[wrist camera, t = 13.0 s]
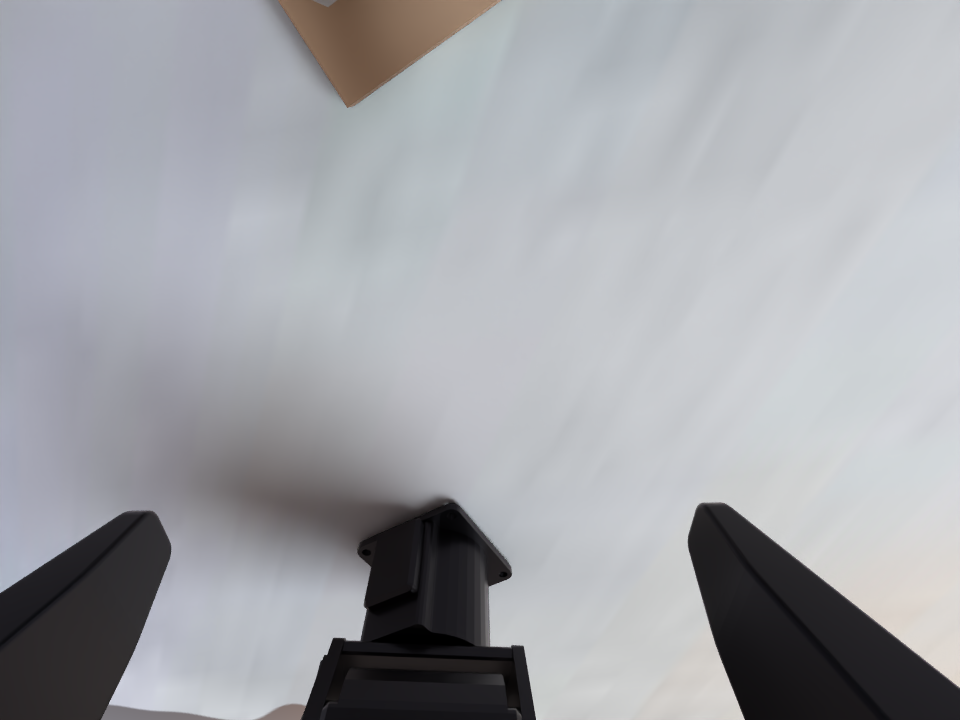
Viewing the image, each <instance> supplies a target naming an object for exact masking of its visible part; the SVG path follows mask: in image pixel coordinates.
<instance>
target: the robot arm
mask: <svg viewBox="0 0 960 720" xmlns="http://www.w3.org/2000/svg"><path fill="white" fill-rule="evenodd" d="M451 512H452V513H453V514H451ZM688 548H689V553H690V556H691V560H692V563H693V567H694V571H695V574H696V578H697V581H698V585H699V589H700V592H701V596H702V599H703V603H704V606H705V610H706V614H707V617H708V621H709V624H710V628H711V631H712V634H713V638H714V641H715V644H716V647H717V649H718V652H719V655H720V658H721V660H722V663H723V665H724V668H725V671H726V673H727V676H728V678H729V681H730V683H731V686H732V688H733V691H734V693H735V696H736V699H737V701H738V704H739V706H740V709H741V711H742V714H743V716H744V719H745V720H960V688H959V687H958V686H957V685H956V684H954V683H953V682H952V681H951V680H949V679H948V678H947V677H945V676H944V675H943V674H942V673H940V672H939V671H938V670H937V669H935V668H934V667H933V666H932V665H930V664H929V663H928V662H926V661H925V660H924V659H923V658H921V657H920V656H919V655H918V654H916V653H915V652H914V651H913V650H911V649H910V648H909V647H907V646H906V645H905V644H904V643H902V642H901V641H900V640H899V639H897V638H896V637H895V636H894V635H892V634H891V633H890V632H888V631H887V630H886V629H885V628H883V627H882V626H881V625H880V624H878V623H877V622H876V621H875V620H873V619H872V618H871V617H869V616H868V615H867V614H866V613H864V612H863V611H862V610H861V609H859V608H858V607H857V606H856V605H854V604H853V603H852V602H850V601H849V600H848V599H847V598H845V597H844V596H843V595H842V594H840V593H839V592H838V591H837V590H835V589H834V588H833V587H831V586H830V585H829V584H828V583H826V582H825V581H824V580H823V579H821V578H820V577H819V576H818V575H816V574H815V573H814V572H812V571H811V570H810V569H809V568H807V567H806V566H805V565H804V564H802V563H801V562H800V561H799V560H797V559H796V558H795V557H793V556H792V555H791V554H790V553H788V552H787V551H786V550H785V549H783V548H782V547H781V546H780V545H778V544H777V543H776V542H774V541H773V540H772V539H771V538H769V537H768V536H767V535H766V534H764V533H763V532H762V531H761V530H759V529H758V528H757V527H755V526H754V525H753V524H752V523H750V522H749V521H748V520H747V519H745V518H744V517H743V516H742V515H740V514H739V513H738V512H736V511H735V510H734V509H733V508H731V507H730V506H729V505H727V504H725V503H700V504H699V505H698V506H697V508H696V511H695V514H694V518H693V521H692V525H691V528H690V531H689V535H688ZM357 552H358V555H359V556H360V557H361V558H362V559H363V560H364V561H365V562H366V563H368V564H369V565H370V566H371V571H370V576H369V581H368V586H367V591H366V595H365V600H364V607H365V608H366V609H367V611H366V616H365V621H364V626H363V631H362V636H361V641H346V638H333V640H332V643H331V646H330V649H329V651H328V654H327V655H324V657H323V660H321V662H320V666H319V670H318V673H317V677H316V680H315V683H314V686H313V688H312V691H311V694H310V697H309V700H308V702H307V705H306V708H305V711H304V714H303V716H302V718H301V720H536V717H535V711H534V705H533V699H532V693H531V687H530V681H529V675H528V669H527V663H526V657H525V652H524V646H517V645H512V646H511V647H490V624H489V586H491V585H494V584H497V583H499V582H502V581H504V580H507V579H509V578H510V577H511V576H512V569H511V566H510V565H509V563H508V562H507V561H506V560H505V559H504V558H503V556H502V555H501V554H500V553H499V552H498V551H497V549H496V548H495V547H494V546H493V545H492V543H491V542H490V541H489V540H488V539H487V538H486V536H485V535H484V534H483V533H482V532H481V531H480V529H479V528H478V527H477V526H476V525H475V524H474V522H473V521H472V520H471V519H470V518H469V517H468V515H467V514H466V513H465V512H464V511H463V510H462V508H461V507H460V506H458V505H457V504H454V503H450V504H446V505H444V506H442V507H439V508H437V509H435V510H433V511H430V512H428V513H426V514H423V515H421V516H419V517H417V518H414V519H412V520H410V521H407V522H405V523H403V524H401V525H398V526H396V527H394V528H392V529H389V530H387V531H385V532H382V533H380V534H378V535H376V536H373V537H371V538H369V539H366V540H364V541H362V542H361V543H360V544H359V547H358V551H357ZM170 555H171V543H170V541H169V539H168V536H167V534H166V532H165V530H164V528H163V526H162V524H161V522H160V520H159V518H158V516H157V514H156V513H154V512H153V511H127V512H124V513H122V514H121V515H119V516H117V517H116V518H114V519H113V520H111V521H110V522H108V523H107V524H105V525H104V526H102V527H101V528H99V529H98V530H96V531H94V532H93V533H91V534H90V535H88V536H87V537H85V538H84V539H82V540H81V541H79V542H78V543H76V544H75V545H73V546H72V547H70V548H68V549H67V550H65V551H64V552H62V553H61V554H59V555H58V556H56V557H55V558H53V559H52V560H50V561H49V562H47V563H46V564H44V565H43V566H41V567H39V568H38V569H36V570H35V571H33V572H32V573H30V574H29V575H27V576H26V577H24V578H23V579H21V580H20V581H18V582H17V583H15V584H14V585H12V586H10V587H9V588H7V589H6V590H4V591H3V592H1V593H0V720H101V718H102V716H103V714H104V712H105V710H106V708H107V706H108V704H109V702H110V700H111V698H112V696H113V694H114V692H115V690H116V688H117V686H118V684H119V682H120V680H121V678H122V675H123V673H124V671H125V669H126V667H127V665H128V663H129V661H130V659H131V657H132V654H133V652H134V650H135V647H136V645H137V643H138V640H139V638H140V635H141V633H142V630H143V628H144V625H145V622H146V620H147V617H148V614H149V612H150V609H151V607H152V604H153V601H154V599H155V596H156V593H157V591H158V588H159V586H160V583H161V580H162V578H163V575H164V572H165V570H166V567H167V565H168V562H169V559H170Z"/></svg>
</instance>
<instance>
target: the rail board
mask: <svg viewBox="0 0 960 720" xmlns="http://www.w3.org/2000/svg"><path fill="white" fill-rule="evenodd" d="M278 1H279V3H280V4H281V6H282V7H283V9H284V10H285V12H286V14H287V15H288V17H289V18H290V20H291V21H292V23H293V24H294V26H295V27H296V29H297V31H298V32H299V34H300V35H301V37H302V38H303V40H304V41H305V43H306V44H307V46H308V48H309V49H310V51H311V52H312V54H313V55H314V57H315V58H316V60H317V61H318V63H319V65H320V66H321V68H322V69H323V71H324V72H325V74H326V75H327V77H328V78H329V80H330V82H331V83H332V85H333V86H334V88H335V89H336V91H337V92H338V94H339V95H340V97H341V99H342V100H343V102H344V103H345V105H346V106H347V108H348V107H352V106H355V105H356V104H357V103H359V102H360V101H362V100H363V99H364V98H366V97H367V96H369V95H370V94H371V93H373V92H374V91H376V90H377V89H378V88H380V87H381V86H383V85H384V84H385V83H387V82H388V81H390V80H391V79H392V78H394V77H395V76H397V75H398V74H399V73H401V72H402V71H404V70H405V69H406V68H408V67H409V66H411V65H412V64H413V63H415V62H416V61H418V60H419V59H420V58H422V57H423V56H425V55H426V54H427V53H429V52H430V51H432V50H433V49H434V48H436V47H437V46H438V45H440V44H441V43H443V42H444V41H445V40H447V39H448V38H450V37H451V36H452V35H454V34H455V33H457V32H458V31H459V30H461V29H462V28H464V27H465V26H466V25H468V24H469V23H471V22H472V21H473V20H475V19H476V18H478V17H479V16H480V15H482V14H483V13H485V12H486V11H487V10H489V9H490V8H492V7H493V6H494V5H496V4H497V3H499V2H500V1H501V0H337V1H336V2H334V3H333V4H332V5H330V6H329V7H326V6H324V5H322V4H320V3H317V2H315V1H313V0H278Z"/></svg>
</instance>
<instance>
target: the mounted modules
mask: <svg viewBox="0 0 960 720" xmlns="http://www.w3.org/2000/svg"><path fill="white" fill-rule="evenodd" d="M313 1H315V2H317V3H320V4H322V5H324V6H326V7H329V6H330V5H332V4H333V3H334V2H336V1H337V0H313Z"/></svg>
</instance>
